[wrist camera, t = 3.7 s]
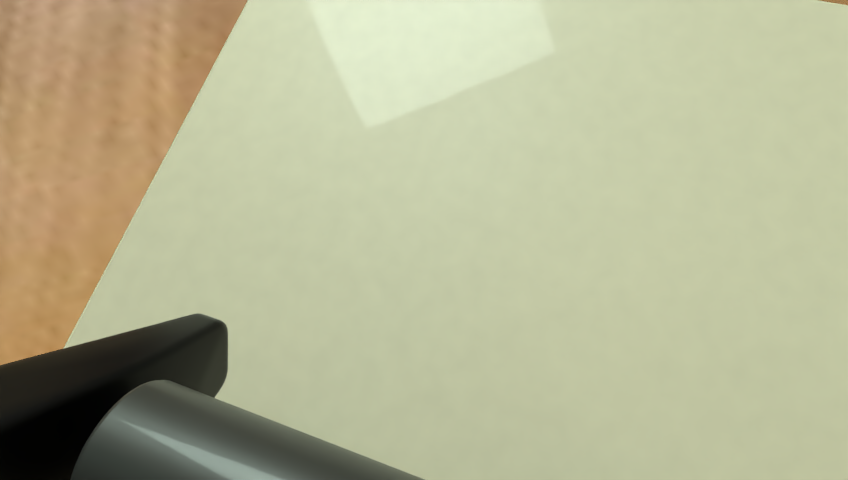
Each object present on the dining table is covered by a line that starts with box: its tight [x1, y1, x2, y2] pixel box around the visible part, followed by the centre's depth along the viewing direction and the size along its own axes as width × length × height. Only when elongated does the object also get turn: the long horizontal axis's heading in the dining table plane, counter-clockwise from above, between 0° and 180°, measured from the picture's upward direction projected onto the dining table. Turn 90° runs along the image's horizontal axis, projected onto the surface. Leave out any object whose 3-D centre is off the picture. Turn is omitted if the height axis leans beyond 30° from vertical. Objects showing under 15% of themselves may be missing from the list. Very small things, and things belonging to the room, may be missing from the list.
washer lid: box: [64, 0, 848, 480], centre depth 8 cm, size 12×12×4 cm
